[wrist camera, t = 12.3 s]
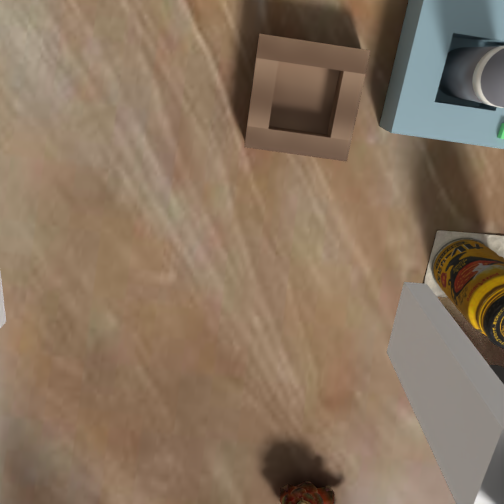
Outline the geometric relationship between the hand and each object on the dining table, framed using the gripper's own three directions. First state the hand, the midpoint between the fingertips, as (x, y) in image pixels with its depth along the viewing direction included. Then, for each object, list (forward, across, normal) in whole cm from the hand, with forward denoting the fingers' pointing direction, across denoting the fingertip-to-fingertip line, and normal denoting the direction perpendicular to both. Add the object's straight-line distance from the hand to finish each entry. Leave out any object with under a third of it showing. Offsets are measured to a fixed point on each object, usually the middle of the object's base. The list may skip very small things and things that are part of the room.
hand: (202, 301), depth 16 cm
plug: (+30, +19, +8) cm, 36 cm away
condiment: (+31, +25, -10) cm, 41 cm away
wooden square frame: (+31, +6, +4) cm, 32 cm away
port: (+31, +19, +8) cm, 37 cm away
